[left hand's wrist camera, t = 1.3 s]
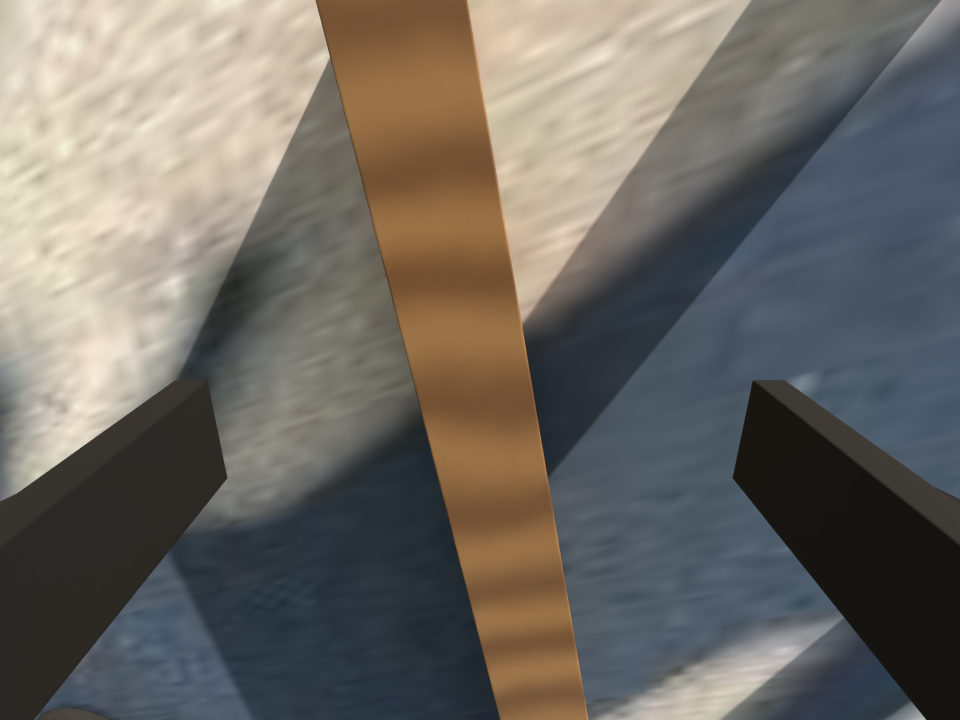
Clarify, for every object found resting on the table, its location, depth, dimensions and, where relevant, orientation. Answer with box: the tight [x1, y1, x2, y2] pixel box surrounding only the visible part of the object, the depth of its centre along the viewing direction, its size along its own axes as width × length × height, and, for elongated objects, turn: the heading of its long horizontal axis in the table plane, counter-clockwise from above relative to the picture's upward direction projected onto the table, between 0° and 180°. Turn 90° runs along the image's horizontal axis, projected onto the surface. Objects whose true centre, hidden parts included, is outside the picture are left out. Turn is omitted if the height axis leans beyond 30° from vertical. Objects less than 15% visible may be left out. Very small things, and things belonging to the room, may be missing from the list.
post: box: [316, 0, 588, 720], centre depth 32 cm, size 60×6×8 cm, turn 11°
